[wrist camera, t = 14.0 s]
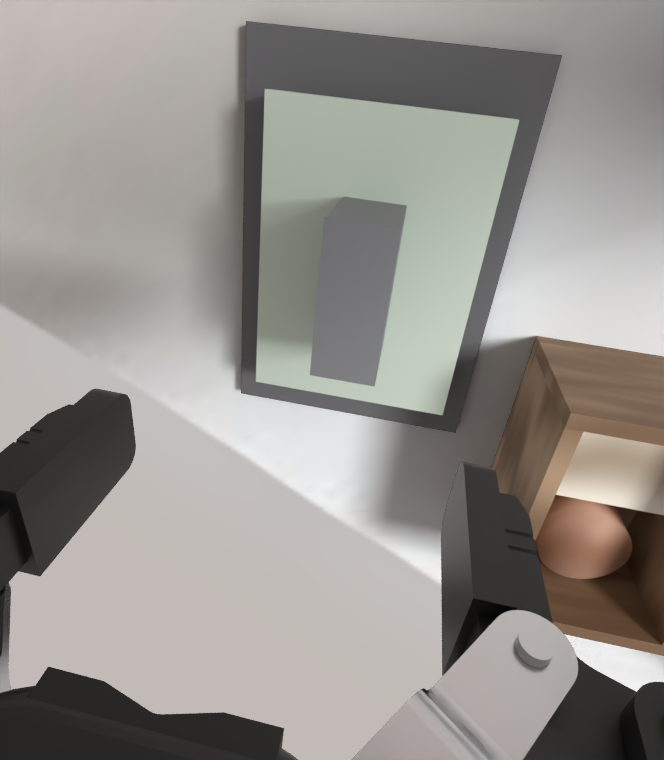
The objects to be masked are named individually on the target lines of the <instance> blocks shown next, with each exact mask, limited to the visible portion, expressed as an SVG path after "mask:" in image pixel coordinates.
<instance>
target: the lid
mask: <svg viewBox="0 0 664 760" xmlns="http://www.w3.org/2000/svg"><path fill="white" fill-rule="evenodd" d="M518 124H519V120H518V119H512V118H504V117H496V116H487V115H479V114H471V113H463V112H455V111H446V110H438V109H430V108H422V107H414V106H406V105H397V104H389V103H381V102H373V101H365V100H356V99H348V98H340V97H332V96H324V95H315V94H307V93H299V92H291V91H283V90H274V89H265V96H264V129H263V162H262V194H261V227H260V260H259V292H258V325H257V358H256V382H261V383H266V384H272V385H277V386H283V387H288V388H294V389H299V390H305V391H311V392H316V393H322V394H327V395H333V396H338V397H344V398H349V399H355V400H360V401H366V402H371V403H377V404H382V405H388V406H393V407H399V408H404V409H410V410H415V411H421V412H426V413H432V414H437V415H443V412H444V408H445V404H446V400H447V396H448V392H449V389H450V385H451V381H452V377H453V373H454V369H455V366H456V362H457V358H458V354H459V350H460V346H461V343H462V339H463V335H464V331H465V327H466V323H467V320H468V316H469V312H470V308H471V304H472V300H473V297H474V293H475V289H476V285H477V281H478V277H479V274H480V270H481V266H482V262H483V258H484V254H485V251H486V247H487V243H488V239H489V235H490V231H491V227H492V224H493V220H494V216H495V212H496V208H497V204H498V201H499V197H500V193H501V189H502V185H503V181H504V178H505V174H506V170H507V166H508V162H509V158H510V155H511V151H512V147H513V143H514V139H515V135H516V132H517V128H518Z"/></svg>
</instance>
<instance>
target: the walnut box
mask: <svg viewBox="0 0 664 760" xmlns="http://www.w3.org/2000/svg"><path fill="white" fill-rule="evenodd" d="M492 468H494V469H495V470H496V474H497V480H498V486H499V493H504V494H509V495H514V496H516V497H517V498H518V500H519V501H520V503H521V504H522V505H523V507H524V508H525V510H526V511H527V513H528V514H529V516H530V521H531V525H532V530H533V539H535V544H536V548H537V555H538V557H539V562H540V567H541V571H542V576H543V580H544V585H545V590H546V594H547V599H548V603H549V608H550V612H551V617H552V621H553V624H554V625H555V626H556V627H557V628H558V629H559V630H560V631H561V632H562V633H563V634H566V635H571V636H575V637H580V638H585V639H589V640H594V641H598V642H603V643H608V644H612V645H617V646H621V647H626V648H630V649H635V650H640V651H644V652H649V653H653V654H658V655H663V656H664V357H662V356H656V355H649V354H643V353H637V352H631V351H625V350H619V349H613V348H606V347H600V346H594V345H588V344H582V343H576V342H570V341H563V340H557V339H551V338H545V337H539V336H537V337H536V340H535V343H534V346H533V349H532V352H531V355H530V358H529V361H528V364H527V366H526V369H525V372H524V375H523V378H522V381H521V384H520V387H519V390H518V393H517V396H516V398H515V401H514V404H513V407H512V410H511V413H510V416H509V419H508V422H507V425H506V428H505V431H504V433H503V436H502V439H501V442H500V445H499V448H498V451H497V454H496V457H495V460H494V463H493V466H492Z"/></svg>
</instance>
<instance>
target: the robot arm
mask: <svg viewBox="0 0 664 760" xmlns="http://www.w3.org/2000/svg"><path fill="white" fill-rule="evenodd" d="M135 448H136V445H135V435H134V427H133V419H132V411H131V403H130V399H129V397H128V396H127V395H125V394H121V393H116V392H111V391H105V390H101V389H93V390H91V391H90V392H88V393H87V394H86V395H85V396H84V397H82V398H81V399H80V400H79V401H78V402H77V403H75V404H74V405H67V406H65V407H62V408H60V409H58V410H56V411H54V412H51V413H49V414H47V415H46V416H45V417H43V418H42V419H41V420H40V421H39V422H37V423H36V424H35V425H34V426H32V427H31V428H30V431H26V432H25V433H24V434H23V435H21V436H20V437H19V438H18V439H17V442H16V443H14V442H13V443H12V444H10V445H9V446H8V447H7V448H6V449H4V450H3V451H2V452H1V453H0V760H298V759H296V758H295V757H294V756H293V755H291V754H290V753H288V752H286V751H285V750H283V749H282V740H283V731H284V728H281V727H277V726H273V725H269V724H265V723H261V722H258V721H254V720H250V719H246V718H242V717H239V716H235V715H231V714H227V713H197V714H165V715H161V714H155V713H152V712H150V711H148V710H147V709H145V708H144V707H142V706H141V705H139V704H138V703H136V702H135V701H133V700H132V699H130V698H129V697H127V696H126V695H124V694H123V693H121V692H119V691H118V690H116V689H115V688H113V687H112V686H110V685H109V684H107V683H106V682H104V681H101V680H97V679H93V678H89V677H86V676H81V675H78V674H74V673H70V672H66V671H63V670H59V669H55V668H51V667H48V668H47V670H46V671H45V672H44V674H43V675H42V677H41V678H40V680H39V681H38V683H37V684H36V686H31V687H25V688H18V689H13V690H11V686H10V681H9V669H8V662H9V634H10V605H11V604H10V603H11V587H10V585H9V581H10V580H11V579H12V578H13V576H14V575H15V574H16V573H17V572H18V571H20V572H24V573H28V574H33V575H37V576H41V575H42V573H43V572H44V571H45V570H46V568H47V567H48V566H49V565H50V564H51V562H52V561H53V560H54V559H55V558H56V556H57V555H58V554H59V553H60V552H61V550H62V549H63V548H64V546H65V545H66V544H67V543H68V542H69V541H70V539H71V538H72V537H73V536H74V535H75V533H76V532H77V531H78V529H79V528H80V527H81V526H82V525H83V524H84V522H85V521H86V520H87V519H88V518H89V516H90V515H91V514H92V513H93V512H94V510H95V509H96V508H97V507H98V505H99V504H100V503H101V502H102V500H103V499H104V498H105V497H106V496H107V494H108V493H109V492H110V491H111V490H112V488H113V487H114V486H115V485H116V484H117V482H118V481H119V480H120V479H121V477H122V476H123V475H124V474H125V472H126V471H127V470H128V469H129V467H130V465H131V463H132V461H133V458H134V455H135ZM441 570H442V675H443V676H442V678H441V679H440V680H439V681H438V682H437V683H436V684H435V685H434V686H433V687H432V688H431V689H429V690H427V691H426V690H425V689H421V690H419V691H418V692H416V693H415V694H414V695H413V696H412V697H411V698H410V699H409V700H408V701H407V702H406V703H405V704H404V705H403V706H402V707H401V708H400V709H399V710H398V711H397V712H396V713H395V714H394V715H393V716H392V717H391V718H390V720H389V721H388V722H387V723H386V724H385V725H384V726H383V727H382V728H381V729H380V730H379V731H378V732H377V733H376V734H375V735H374V736H373V737H372V738H371V740H370V741H369V742H368V743H367V744H366V745H365V746H364V747H363V748H362V749H361V750H360V751H359V752H358V753H357V754H356V755H355V756H354V757H353V759H352V760H664V682H652V683H648V684H645V685H643V686H642V687H641V688H640V689H639V690H638V691H637V692H636V691H634V690H632V689H630V688H628V687H626V686H624V685H622V684H621V683H619V682H617V681H615V680H613V679H611V678H609V677H607V676H605V675H604V674H602V673H600V672H598V671H596V670H595V669H593V668H591V667H589V666H588V665H587V664H585V663H584V662H583V661H581V660H580V659H579V658H578V657H577V656H576V654H575V651H574V649H573V647H572V645H571V643H570V642H569V640H568V639H567V638H566V636H565V635H564V634H563V633H562V632H561V631H560V630H559V629H558V628H557V627H556V626H555V625H554V624H553V621H552V617H551V612H550V608H549V603H548V599H547V594H546V590H545V585H544V580H543V576H542V571H541V567H540V562H539V557H538V555H537V548H536V544H535V539H533V530H532V525H531V521H530V516H529V514H528V513H527V511H526V510H525V508H524V507H523V505H522V504H521V503H520V501H519V500H518V498H517V497H516V496H514V495H509V494H504V493H499V486H498V480H497V474H496V470H495V469H494V468H490V467H485V466H480V465H475V464H470V463H465V462H461V463H460V465H459V467H458V470H457V473H456V477H455V480H454V483H453V486H452V490H451V493H450V496H449V499H448V503H447V506H446V509H445V513H444V518H443V524H442V532H441Z"/></svg>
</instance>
